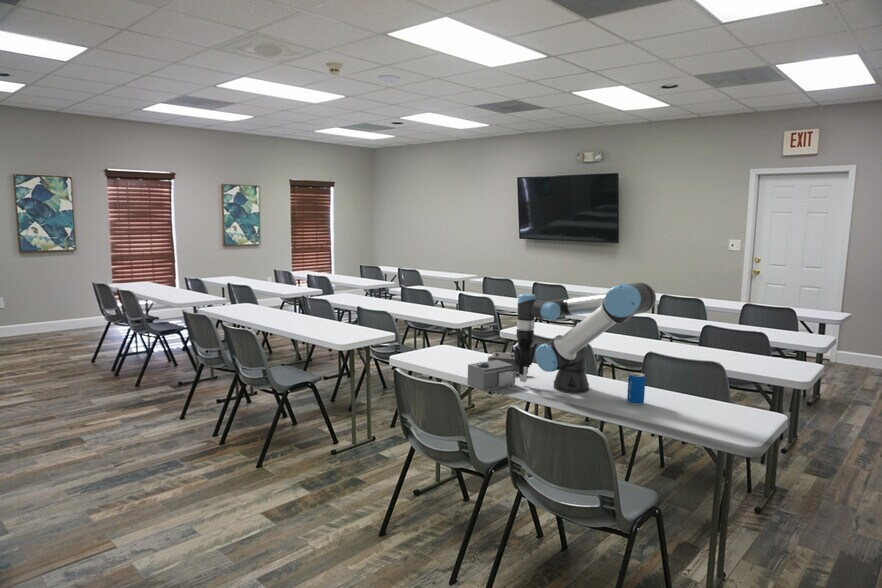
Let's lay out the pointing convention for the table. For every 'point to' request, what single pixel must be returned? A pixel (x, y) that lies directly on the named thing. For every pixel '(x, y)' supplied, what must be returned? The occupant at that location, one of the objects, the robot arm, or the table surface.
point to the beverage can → (636, 388)
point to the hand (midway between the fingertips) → (523, 381)
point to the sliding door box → (487, 374)
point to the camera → (505, 359)
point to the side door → (506, 378)
